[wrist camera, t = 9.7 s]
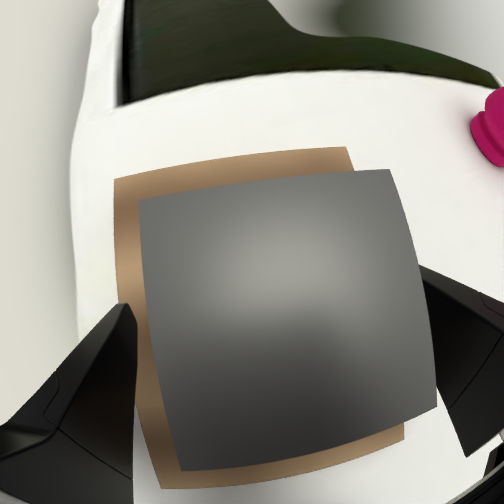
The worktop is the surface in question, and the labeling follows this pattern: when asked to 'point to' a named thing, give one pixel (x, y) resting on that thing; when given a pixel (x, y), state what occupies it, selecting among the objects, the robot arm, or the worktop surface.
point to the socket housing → (134, 294)
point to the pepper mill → (491, 128)
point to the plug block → (284, 316)
